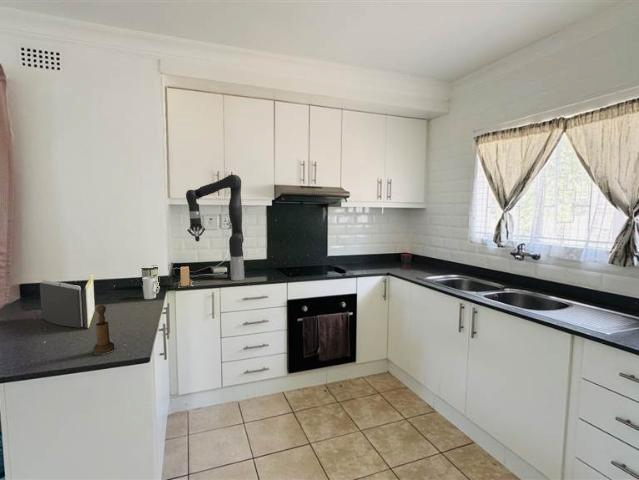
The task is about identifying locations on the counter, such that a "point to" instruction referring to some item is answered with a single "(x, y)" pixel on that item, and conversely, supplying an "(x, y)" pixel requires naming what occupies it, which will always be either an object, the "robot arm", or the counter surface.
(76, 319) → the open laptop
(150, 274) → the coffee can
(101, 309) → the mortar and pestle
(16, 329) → the counter surface
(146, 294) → the mug
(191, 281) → the chute
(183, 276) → the block
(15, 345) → the counter surface
